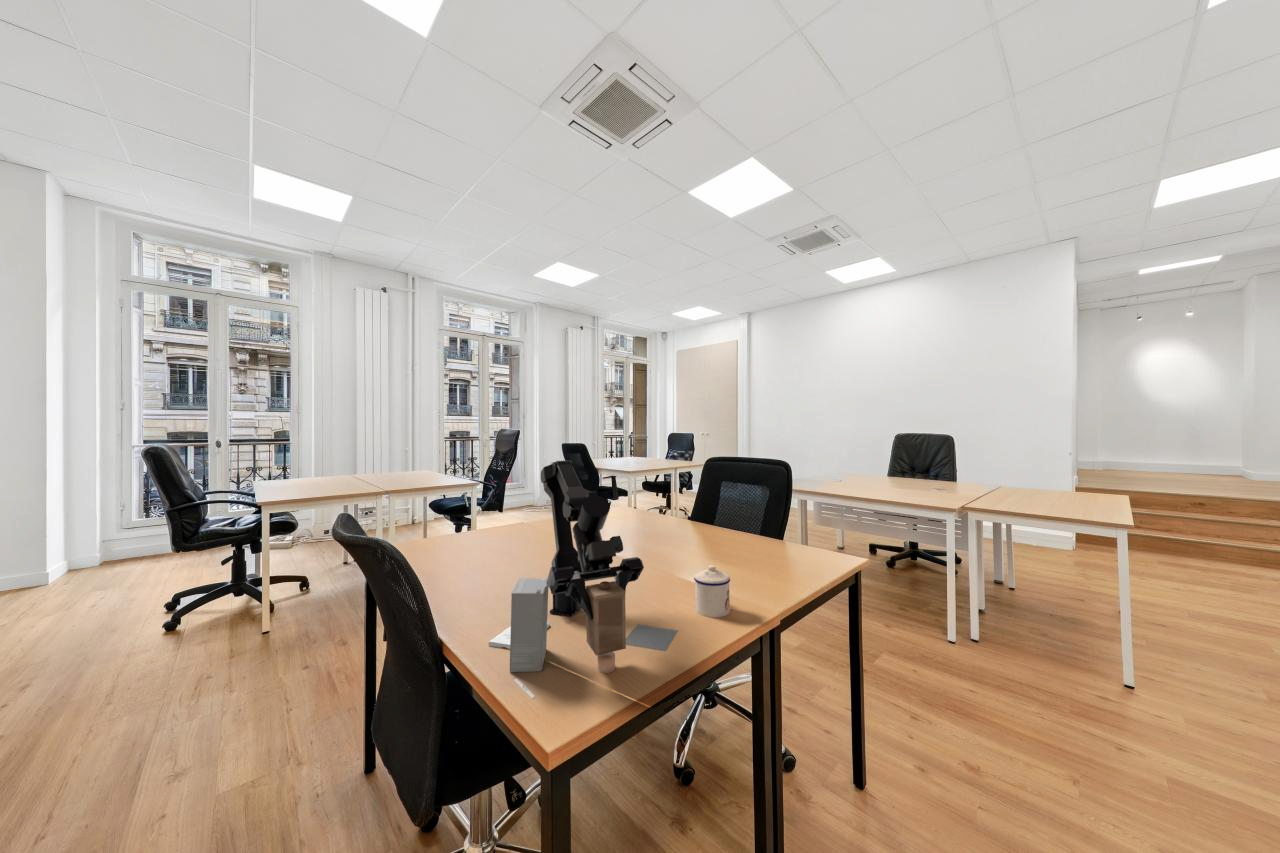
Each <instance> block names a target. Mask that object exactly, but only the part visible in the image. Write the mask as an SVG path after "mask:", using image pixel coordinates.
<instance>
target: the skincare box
mask: <svg viewBox="0 0 1280 853" xmlns="http://www.w3.org/2000/svg"><path fill="white" fill-rule="evenodd" d="M548 585H549V579H548V577H546V578H536V577H535V578H533V577H532V578H531V577H529V578H528V577H527V578H525V577H524V578H519V579H518V581H517V582H516V584H515V586H514V588H513V590H511V593H510V594H511V606H510V607H511V609H510V610H511V611H510V612H511V614H510V626H511V640H510V649H509V655H510V656H509V672H510V673H525V672H526V673H527V672H528V673H529V672H530V673H531V672H541V671H543V667H544V662H545V657H546V652H547V646H548V645H547V640H548V639H547V638H548V637H547V636H548V628H547V622H548V611H549V610H548V609H549V608H548V607H549V586H548Z"/></svg>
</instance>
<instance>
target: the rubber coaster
mask: <svg viewBox="0 0 1280 853" xmlns="http://www.w3.org/2000/svg"><path fill="white" fill-rule="evenodd" d="M678 631H679V629H671V628H666V627H665V628H664V627H657V626H650V625H644V624H639V623H638V624H636V625H635V626H634V628H633V629H632V631H630V633H629V634H628V635H626V646H632V647H636V648H637V647H638V648H644V649H650V650H657V651H663V652H667V649H668V648H669V647H670V645H671V643H672V641H673V639H674V638H675V636H676V635H677V633H678Z"/></svg>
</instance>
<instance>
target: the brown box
mask: <svg viewBox="0 0 1280 853" xmlns="http://www.w3.org/2000/svg"><path fill="white" fill-rule="evenodd" d="M585 587H586V591H587V595H588V598H589V601H590V604H591V608H592V612H593V619H592V620H590V619H589V617H588V616H587V615H586V614H585V618H586V620H585V621H586V623H585V624H586V631H585V632H586V633H585V634H586V643H587V644H588V645H589V647H590V649H591V650H592V652H593V653H594V654H595V656H598V655H601V654H605V653H609V652H614V653H615V652H617V651H621V650H626V649H627V645H626V638H627V633H626V632H627V631H626V629H627V628H626V627H627V626H626V624H627V623H626V621H627V620H626V591H625V590H624V589H622V588H621V587H620V586H619V585H618V584H617V583H616V582H615V580H614V581H605V580H604V581H601V582H600V583H595V584H589V585H585Z"/></svg>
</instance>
